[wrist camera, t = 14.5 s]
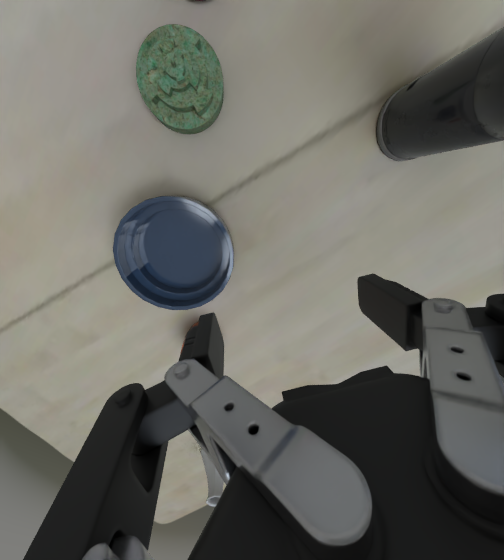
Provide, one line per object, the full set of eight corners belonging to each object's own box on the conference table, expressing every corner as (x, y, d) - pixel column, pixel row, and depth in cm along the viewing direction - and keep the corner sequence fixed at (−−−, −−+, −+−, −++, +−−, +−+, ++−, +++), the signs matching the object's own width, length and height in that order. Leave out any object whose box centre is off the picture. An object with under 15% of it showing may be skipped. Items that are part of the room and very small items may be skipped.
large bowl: (217, 184, 34) (215, 183, 29) (243, 283, 40) (245, 295, 35) (110, 210, 34) (91, 212, 29) (151, 306, 40) (141, 321, 35)
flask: (214, 432, 51) (211, 484, 42) (239, 444, 54) (241, 497, 44) (194, 450, 53) (187, 505, 44) (219, 462, 55) (217, 516, 46)
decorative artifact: (235, 66, 30) (156, 20, 27) (236, 29, 23) (133, -35, 21) (208, 147, 32) (135, 111, 30) (203, 135, 26) (109, 88, 24)
